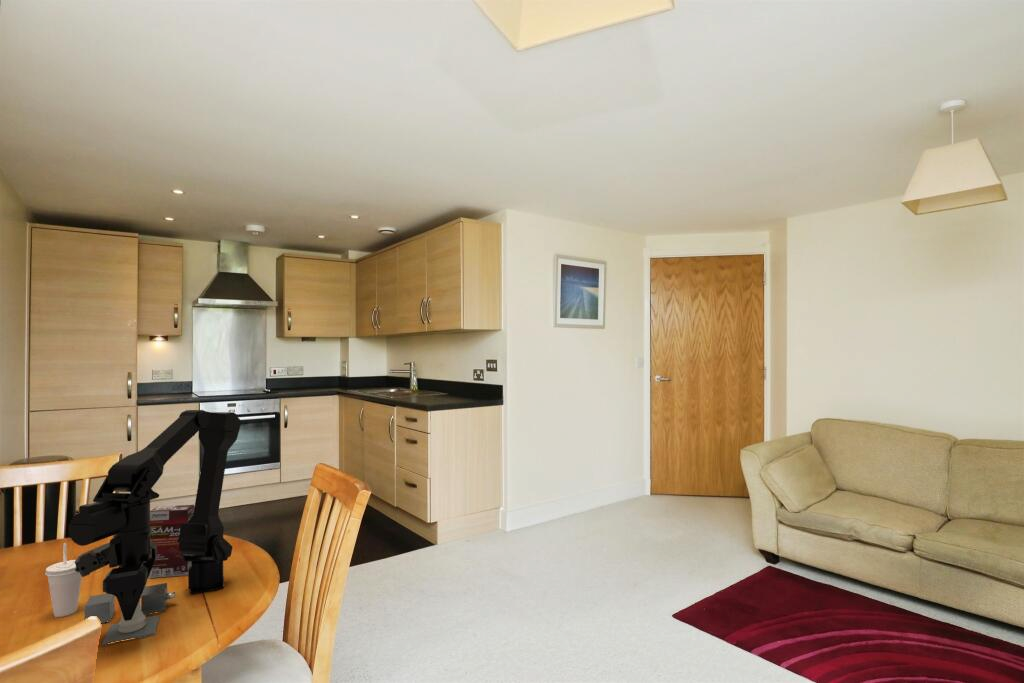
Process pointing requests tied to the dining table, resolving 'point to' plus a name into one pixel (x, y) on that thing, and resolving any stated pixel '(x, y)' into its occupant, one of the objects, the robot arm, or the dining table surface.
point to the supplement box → (169, 540)
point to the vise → (150, 602)
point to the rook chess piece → (133, 622)
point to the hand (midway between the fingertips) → (132, 609)
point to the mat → (147, 630)
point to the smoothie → (64, 586)
